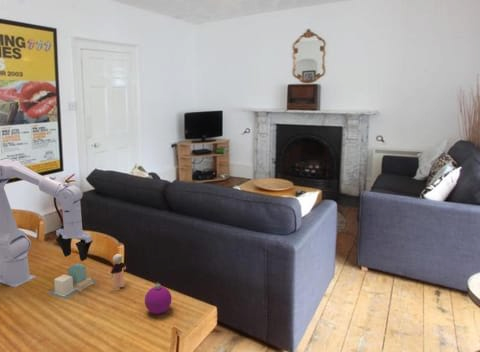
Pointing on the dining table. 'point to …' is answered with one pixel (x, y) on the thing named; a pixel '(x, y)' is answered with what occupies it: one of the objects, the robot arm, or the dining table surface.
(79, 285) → the beech brick
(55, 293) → the slate mat
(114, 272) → the grandmother figurine
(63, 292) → the cream block
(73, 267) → the teal block
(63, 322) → the dining table surface
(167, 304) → the christmas ornament
